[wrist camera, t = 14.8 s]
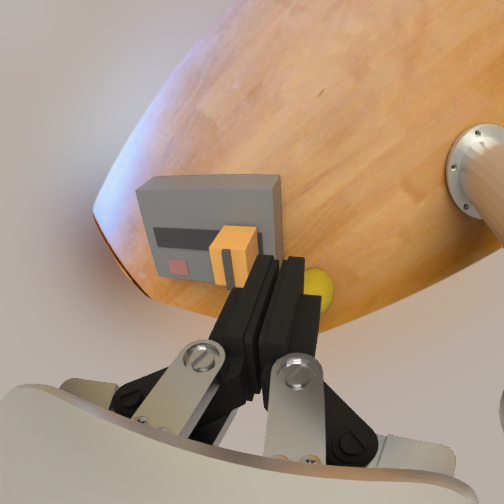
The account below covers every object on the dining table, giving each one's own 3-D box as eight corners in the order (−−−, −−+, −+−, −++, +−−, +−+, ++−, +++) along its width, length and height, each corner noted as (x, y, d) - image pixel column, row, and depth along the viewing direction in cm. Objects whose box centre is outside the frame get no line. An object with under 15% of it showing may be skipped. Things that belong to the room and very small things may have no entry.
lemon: (300, 254, 43) (292, 290, 36) (339, 262, 42) (337, 300, 35) (294, 284, 46) (285, 322, 39) (330, 291, 45) (326, 330, 38)
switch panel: (279, 174, 37) (271, 190, 33) (283, 267, 45) (276, 290, 40) (154, 176, 42) (134, 190, 37) (173, 257, 49) (158, 277, 45)
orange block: (256, 226, 36) (243, 253, 31) (259, 262, 38) (247, 291, 34) (224, 225, 37) (206, 250, 32) (228, 260, 39) (213, 287, 35)
